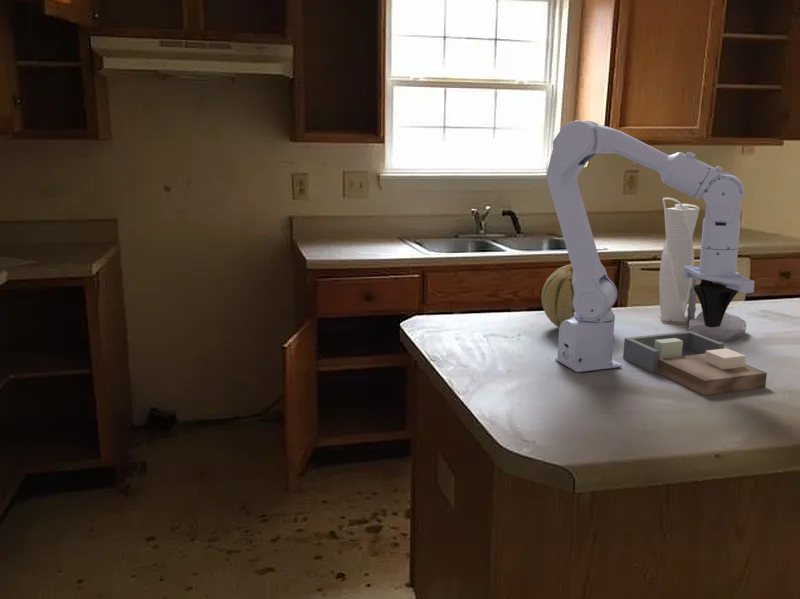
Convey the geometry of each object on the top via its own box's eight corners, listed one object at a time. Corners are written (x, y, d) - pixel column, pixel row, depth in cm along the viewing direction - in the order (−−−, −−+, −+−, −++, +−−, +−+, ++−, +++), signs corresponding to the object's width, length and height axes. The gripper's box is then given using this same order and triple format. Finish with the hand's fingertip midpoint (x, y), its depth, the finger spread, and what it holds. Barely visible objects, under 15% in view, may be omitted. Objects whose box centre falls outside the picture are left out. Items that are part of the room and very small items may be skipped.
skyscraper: (655, 324, 162) (665, 199, 156) (651, 315, 170) (660, 195, 163) (695, 326, 160) (707, 199, 154) (689, 317, 168) (700, 196, 161)
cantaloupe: (606, 322, 162) (610, 257, 159) (613, 341, 148) (618, 269, 145) (539, 320, 165) (542, 255, 161) (540, 338, 151) (543, 267, 147)
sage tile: (661, 343, 130) (654, 340, 131) (659, 366, 131) (652, 363, 132) (682, 340, 131) (675, 337, 133) (680, 364, 132) (673, 361, 134)
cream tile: (722, 369, 123) (723, 358, 123) (704, 361, 127) (705, 350, 127) (744, 366, 124) (745, 355, 124) (725, 359, 128) (726, 348, 128)
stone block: (745, 340, 155) (699, 324, 161) (752, 319, 154) (705, 304, 159) (731, 355, 146) (682, 338, 152) (738, 334, 145) (689, 317, 150)
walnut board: (703, 395, 118) (705, 380, 118) (657, 372, 129) (658, 359, 129) (765, 386, 122) (766, 372, 121) (715, 365, 133) (716, 352, 132)
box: (652, 372, 129) (654, 351, 128) (623, 358, 137) (624, 337, 136) (721, 364, 133) (723, 343, 132) (689, 350, 142) (690, 331, 141)
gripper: (772, 252, 115) (764, 334, 118) (708, 240, 128) (702, 314, 131) (736, 255, 113) (728, 338, 116) (675, 242, 126) (669, 317, 129)
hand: (712, 326), depth 123 cm, fingers closed
